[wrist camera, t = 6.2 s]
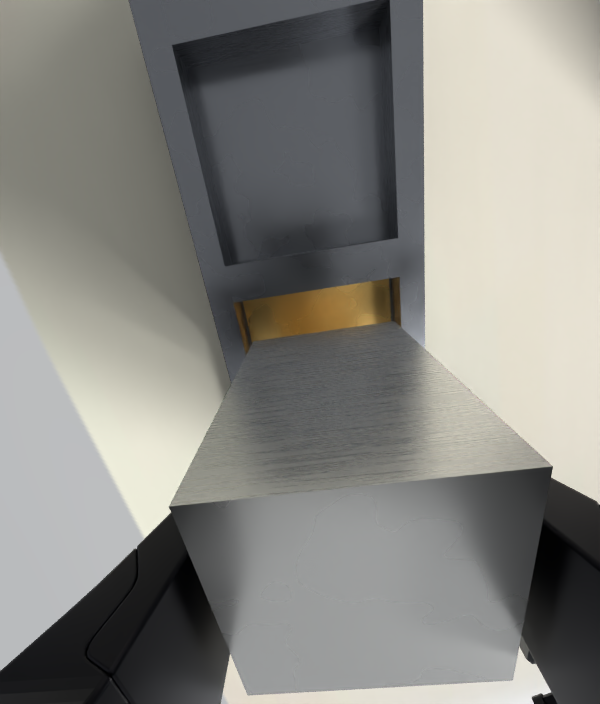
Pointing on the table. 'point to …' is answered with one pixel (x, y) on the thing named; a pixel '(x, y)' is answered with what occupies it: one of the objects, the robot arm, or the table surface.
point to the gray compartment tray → (296, 158)
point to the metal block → (362, 518)
